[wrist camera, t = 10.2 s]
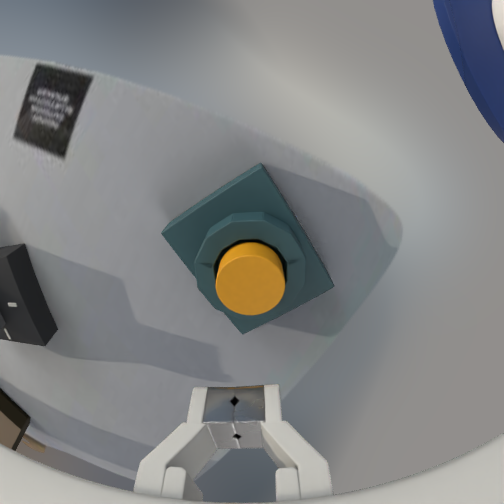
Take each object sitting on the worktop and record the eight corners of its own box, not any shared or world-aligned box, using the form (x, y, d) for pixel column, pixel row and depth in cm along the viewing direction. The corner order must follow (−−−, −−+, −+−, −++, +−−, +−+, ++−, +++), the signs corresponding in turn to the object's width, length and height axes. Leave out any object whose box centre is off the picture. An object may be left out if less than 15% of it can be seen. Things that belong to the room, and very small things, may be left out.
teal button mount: (328, 273, 23) (340, 300, 19) (243, 318, 25) (241, 350, 21) (261, 162, 20) (262, 169, 16) (168, 222, 21) (152, 243, 18)
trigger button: (293, 279, 19) (297, 296, 17) (241, 307, 20) (240, 325, 18) (260, 229, 18) (261, 242, 16) (206, 262, 19) (201, 277, 17)
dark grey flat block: (24, 243, 22) (5, 256, 19) (58, 329, 26) (44, 347, 23) (-31, 253, 22) (-47, 264, 20) (-2, 323, 26) (-14, 337, 24)
